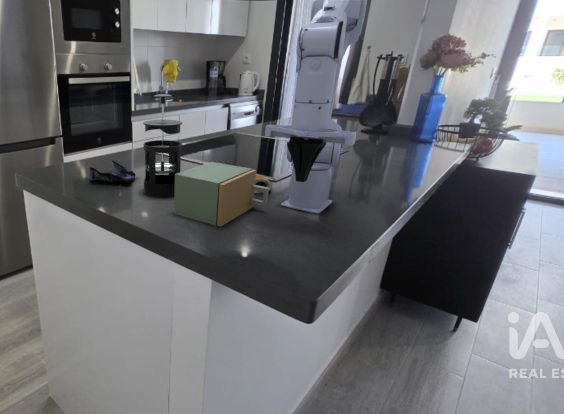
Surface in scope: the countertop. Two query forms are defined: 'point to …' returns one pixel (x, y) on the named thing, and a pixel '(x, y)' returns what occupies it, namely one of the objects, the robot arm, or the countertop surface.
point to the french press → (162, 183)
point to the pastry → (262, 182)
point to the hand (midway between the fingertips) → (301, 180)
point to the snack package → (117, 176)
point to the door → (239, 197)
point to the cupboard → (202, 190)
